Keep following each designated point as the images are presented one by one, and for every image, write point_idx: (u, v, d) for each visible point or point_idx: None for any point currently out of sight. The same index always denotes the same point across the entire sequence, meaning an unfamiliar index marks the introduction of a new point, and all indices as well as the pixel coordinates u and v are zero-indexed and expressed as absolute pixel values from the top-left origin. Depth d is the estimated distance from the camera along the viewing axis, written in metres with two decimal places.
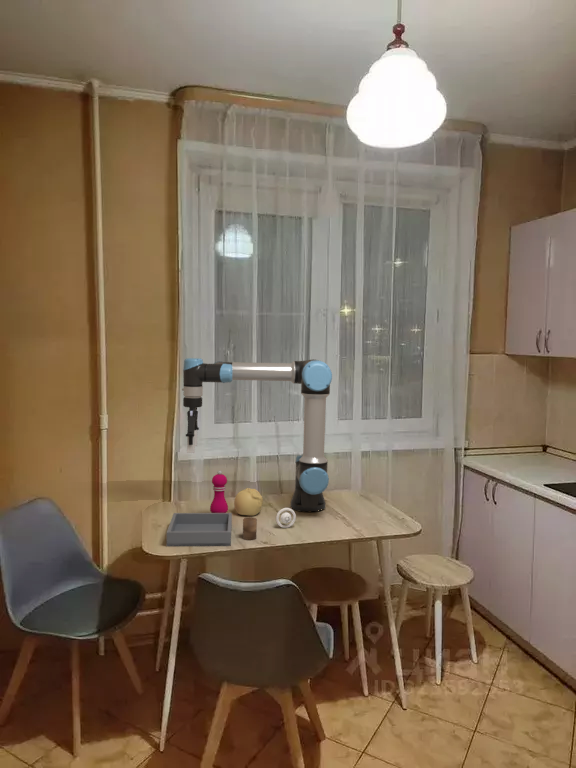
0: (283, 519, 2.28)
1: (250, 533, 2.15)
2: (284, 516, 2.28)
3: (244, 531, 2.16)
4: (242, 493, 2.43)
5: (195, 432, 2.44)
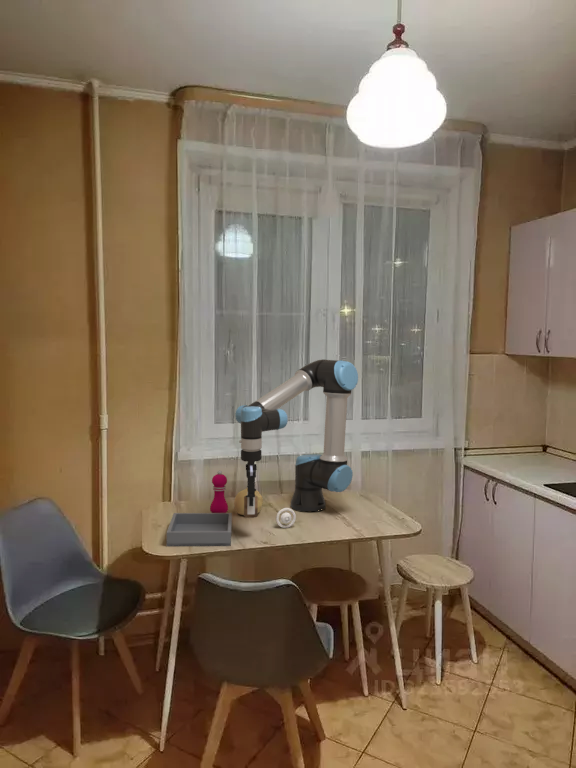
0: (283, 519, 2.28)
1: None
2: (284, 516, 2.28)
3: (245, 509, 2.16)
4: (242, 493, 2.43)
5: None
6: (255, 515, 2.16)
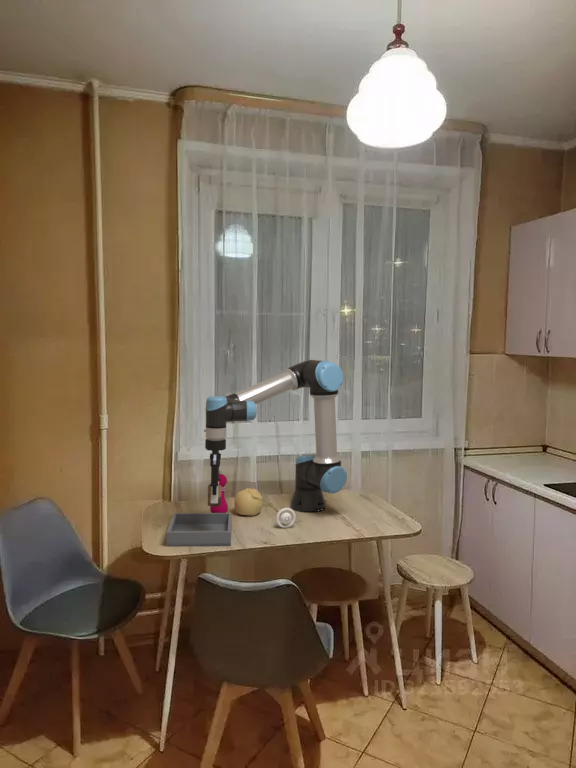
0: (283, 519, 2.28)
1: None
2: (284, 516, 2.28)
3: (209, 497, 2.17)
4: (242, 493, 2.43)
5: None
6: (218, 504, 2.17)
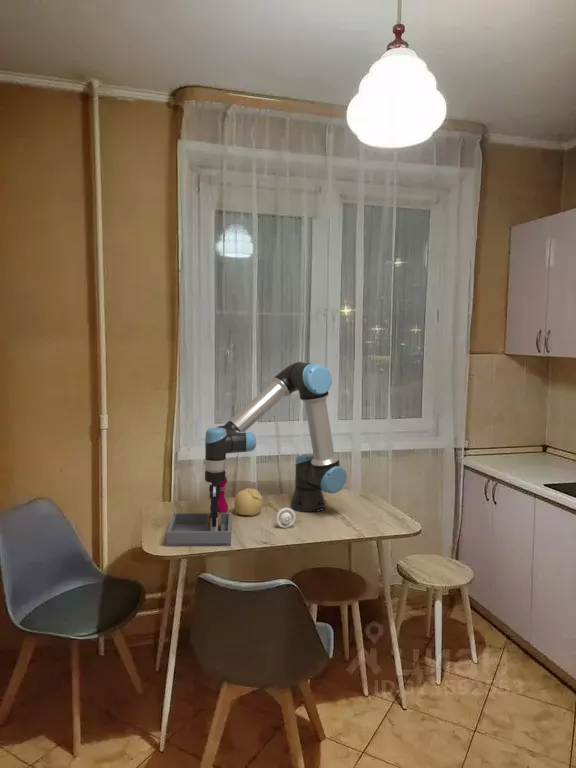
0: (283, 519, 2.28)
1: None
2: (284, 516, 2.28)
3: (208, 526, 2.18)
4: (242, 493, 2.43)
5: None
6: None
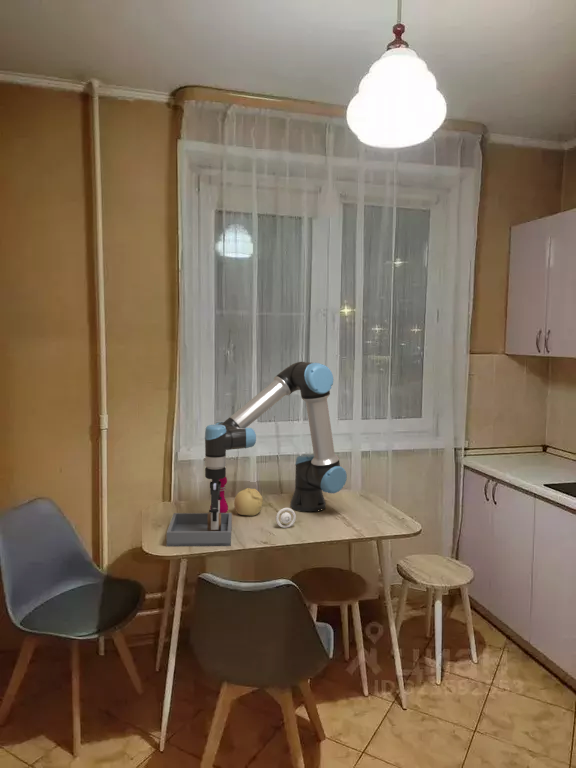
0: (283, 519, 2.28)
1: None
2: (284, 516, 2.28)
3: (208, 526, 2.18)
4: (242, 493, 2.43)
5: (218, 502, 2.26)
6: None
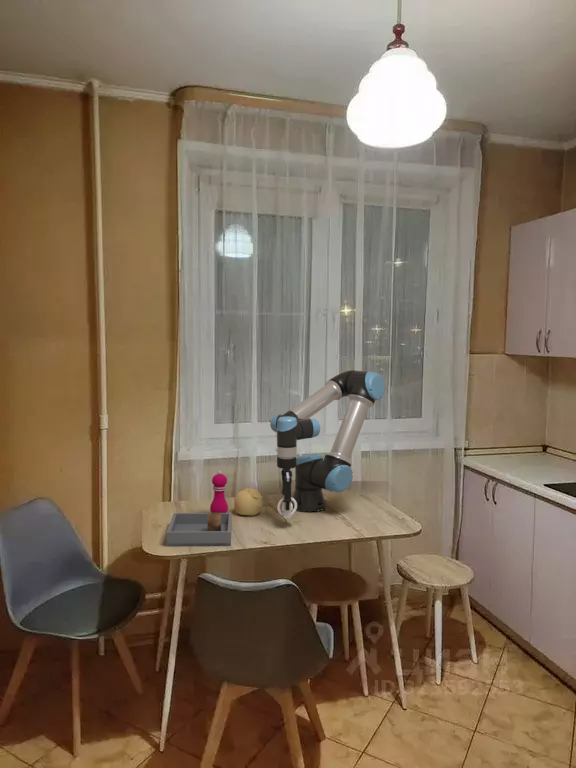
0: None
1: (214, 528, 2.17)
2: None
3: (208, 526, 2.18)
4: (242, 493, 2.43)
5: None
6: None
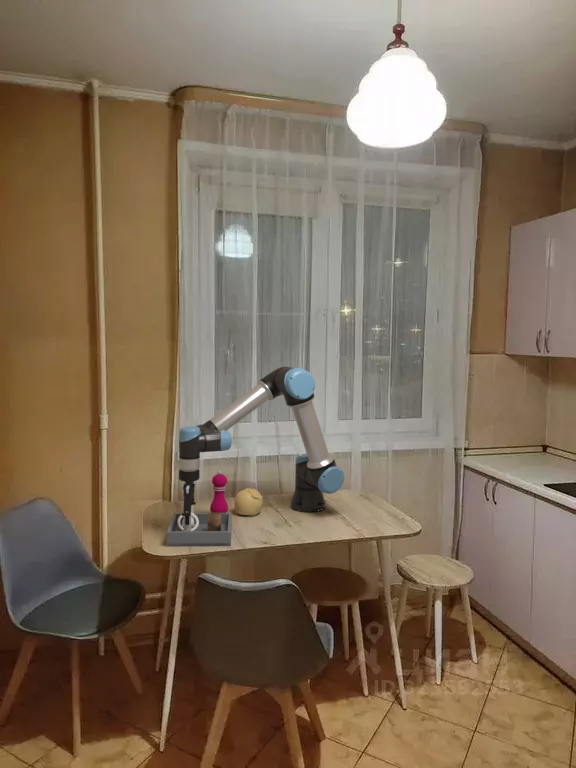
0: None
1: (214, 528, 2.17)
2: None
3: (208, 526, 2.18)
4: (242, 493, 2.43)
5: (192, 508, 2.24)
6: None
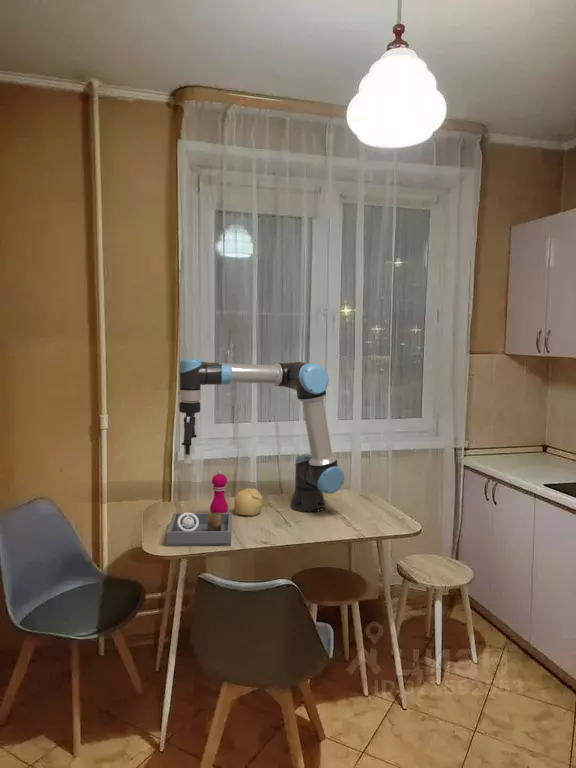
0: (184, 520, 2.19)
1: (214, 528, 2.17)
2: (185, 518, 2.20)
3: (208, 526, 2.18)
4: (242, 493, 2.43)
5: (192, 440, 2.23)
6: None
